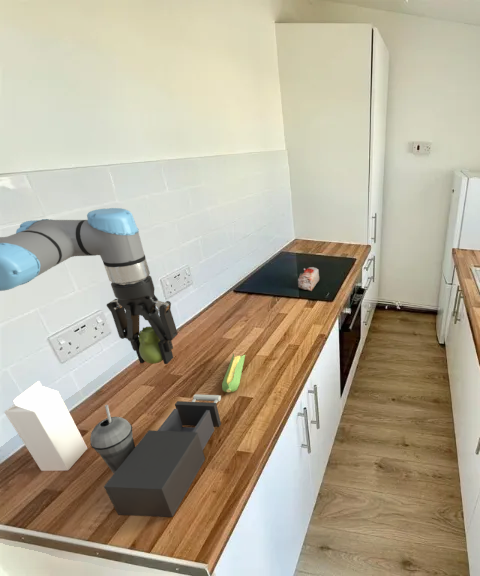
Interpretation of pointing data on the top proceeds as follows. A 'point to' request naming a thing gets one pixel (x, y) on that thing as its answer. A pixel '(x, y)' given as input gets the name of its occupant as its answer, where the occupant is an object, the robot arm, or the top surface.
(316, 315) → the top surface
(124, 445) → the beverage cup
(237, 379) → the edible corn
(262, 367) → the top surface
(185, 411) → the drawer
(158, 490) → the cabinet
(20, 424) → the milk
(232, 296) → the top surface
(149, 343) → the pear
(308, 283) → the food item
